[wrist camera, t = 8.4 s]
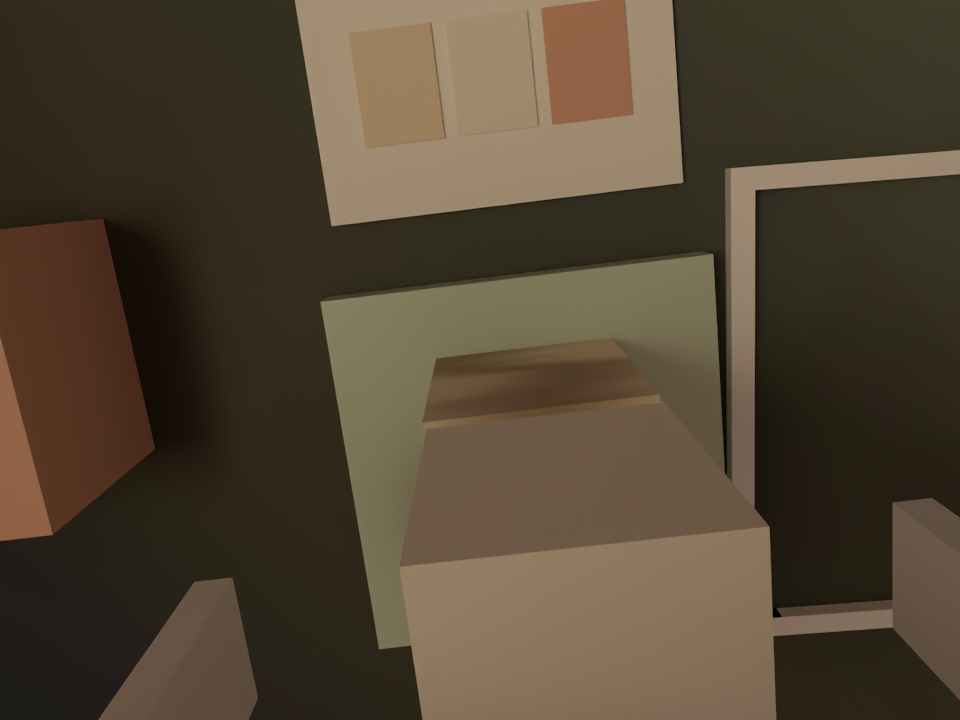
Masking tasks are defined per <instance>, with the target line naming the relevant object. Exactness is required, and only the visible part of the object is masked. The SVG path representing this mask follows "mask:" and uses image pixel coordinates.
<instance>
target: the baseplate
mask: <svg viewBox="0 0 960 720" xmlns="http://www.w3.org/2000/svg"><path fill="white" fill-rule="evenodd" d="M321 308H322V314H323V320H324V326H325V332H326V338H327V344H328V349H329V355H330V361H331V367H332V373H333V379H334V385H335V391H336V397H337V403H338V409H339V414H340V420H341V426H342V432H343V438H344V444H345V450H346V456H347V462H348V468H349V474H350V479H351V485H352V491H353V497H354V503H355V509H356V515H357V521H358V527H359V533H360V538H361V544H362V550H363V556H364V562H365V568H366V574H367V580H368V586H369V592H370V598H371V603H372V609H373V615H374V621H375V627H376V633H377V639H378V645H379V649H385V648H394V647H403V646H411V640H410V634H409V627H408V621H407V614H406V608H405V601H404V595H403V588H402V581H401V575H400V568H399V566H400V561H401V556H402V551H403V546H404V541H405V535H406V530H407V525H408V520H409V515H410V510H411V505H412V500H413V495H414V490H415V485H416V480H417V475H418V470H419V465H420V460H421V455H422V450H423V445H424V433H423V426H422V420H423V416H424V411H425V407H426V402H427V398H428V393H429V389H430V384H431V380H432V375H433V371H434V366H435V362H436V358H444V357H452V356H461V355H469V354H477V353H486V352H494V351H502V350H511V349H519V348H527V347H536V346H544V345H552V344H561V343H569V342H577V341H586V340H594V339H602V338H612V339H613V340H614V341H615V343H616V344H617V345H618V346H619V347H620V348H621V350H622V351H623V352H624V353H625V354H626V355H627V357H628V358H629V359H630V360H631V361H632V362H633V364H634V365H635V366H636V367H637V368H638V370H639V371H640V372H641V373H642V374H643V375H644V377H645V378H646V379H647V380H648V381H649V382H650V384H651V385H652V386H653V387H654V388H655V389H656V391H657V392H658V393H659V394H660V402H665V403H666V405H667V406H668V407H669V408H670V409H671V411H672V412H673V413H674V414H675V415H676V416H677V418H678V419H679V420H680V421H681V422H682V424H683V425H684V426H685V427H686V428H687V429H688V431H689V432H690V433H691V434H692V435H693V437H694V438H695V439H696V440H697V441H698V442H699V444H700V445H701V446H702V447H703V448H704V450H705V451H706V452H707V453H708V454H709V456H710V457H711V458H712V459H713V460H714V461H715V463H716V464H717V465H718V466H719V467H720V469H721V470H722V471H723V472H724V473H725V465H724V447H723V428H722V409H721V390H720V371H719V353H718V334H717V315H716V296H715V278H714V259H713V254H711V253H708V252H705V251H699V252H690V253H682V254H674V255H666V256H658V257H649V258H641V259H633V260H625V261H617V262H608V263H600V264H592V265H584V266H575V267H567V268H559V269H551V270H543V271H534V272H526V273H518V274H510V275H501V276H493V277H485V278H477V279H469V280H460V281H452V282H444V283H436V284H427V285H419V286H411V287H403V288H395V289H386V290H378V291H370V292H362V293H353V294H345V295H337V296H329V297H326V298H325V299H324V300H322V301H321Z"/></svg>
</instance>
